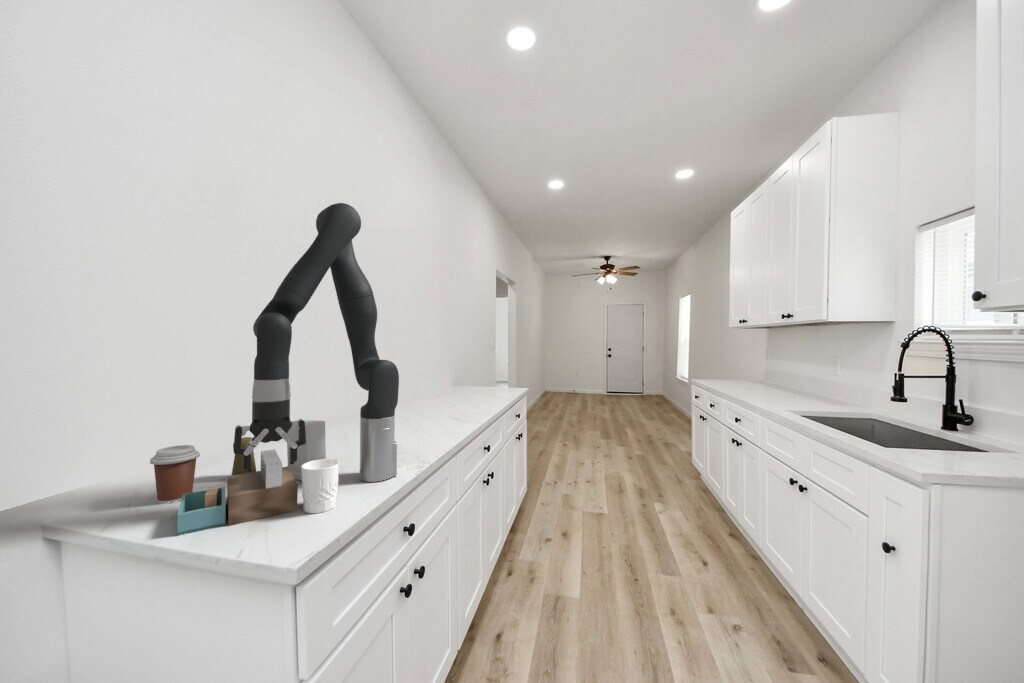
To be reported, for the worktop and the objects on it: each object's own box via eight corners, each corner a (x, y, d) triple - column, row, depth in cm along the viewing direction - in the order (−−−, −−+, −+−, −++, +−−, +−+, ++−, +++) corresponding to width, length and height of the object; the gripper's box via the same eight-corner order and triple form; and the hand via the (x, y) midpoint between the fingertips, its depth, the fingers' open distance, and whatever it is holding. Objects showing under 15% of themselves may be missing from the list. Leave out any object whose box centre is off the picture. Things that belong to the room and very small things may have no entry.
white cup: (292, 511, 85) (293, 466, 85) (321, 498, 93) (322, 457, 93) (318, 517, 82) (319, 471, 82) (346, 503, 90) (347, 461, 90)
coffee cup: (179, 489, 97) (180, 442, 98) (208, 492, 96) (209, 444, 96) (138, 504, 88) (139, 452, 89) (169, 508, 87) (170, 455, 87)
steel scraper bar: (274, 469, 96) (275, 449, 96) (281, 485, 84) (282, 463, 85) (260, 471, 94) (260, 451, 94) (265, 488, 83) (266, 465, 83)
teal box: (224, 503, 89) (224, 486, 89) (225, 524, 79) (225, 505, 79) (182, 512, 85) (182, 494, 85) (177, 535, 74) (177, 515, 74)
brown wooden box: (287, 489, 98) (288, 466, 98) (297, 510, 86) (297, 483, 86) (227, 501, 90) (227, 476, 90) (228, 525, 78) (228, 496, 78)
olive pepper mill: (243, 481, 103) (243, 441, 103) (225, 479, 105) (225, 439, 105) (262, 474, 109) (262, 435, 109) (244, 472, 110) (245, 434, 111)
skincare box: (326, 475, 109) (327, 420, 109) (306, 482, 103) (306, 425, 103) (306, 471, 112) (307, 418, 112) (285, 478, 106) (285, 422, 106)
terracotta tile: (218, 487, 87) (207, 489, 86) (216, 493, 84) (205, 495, 83) (218, 504, 87) (207, 506, 86) (216, 511, 84) (204, 513, 83)
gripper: (302, 394, 97) (302, 458, 97) (233, 398, 88) (232, 468, 88) (308, 397, 91) (307, 465, 91) (234, 402, 82) (233, 478, 82)
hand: (270, 467), depth 89 cm, fingers open, 8 cm apart
